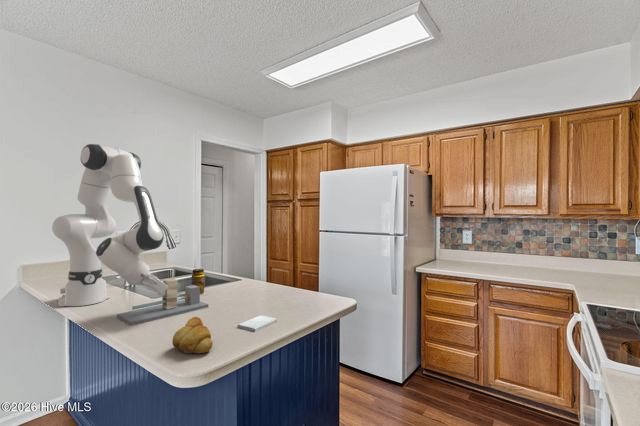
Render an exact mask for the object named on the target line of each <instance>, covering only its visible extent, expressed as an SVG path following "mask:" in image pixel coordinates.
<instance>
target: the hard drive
mask: <svg viewBox="0 0 640 426" xmlns="http://www.w3.org/2000/svg"><path fill="white" fill-rule="evenodd" d="M276 321H277V322H278V318H277V317H273V316H267V315H262V314H261V315H258V316H256V317H253V318H250V319H248V320H246V321H242V322H241V323H239V324H237V325H236V326H237V328H238V329H243V330H247V331H250V332H254V331H256V332H258V331H260V330H262V329H264V328H266V327H268V326H270V325H273V324H274V323H277V322H276ZM267 325H268V326H267ZM265 326H266V327H265ZM263 327H264V328H263ZM261 328H262V329H261ZM259 329H260V330H259ZM257 330H258V331H257Z"/></svg>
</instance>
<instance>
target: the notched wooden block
mask: <svg viewBox="0 0 640 426" xmlns="http://www.w3.org/2000/svg"><path fill="white" fill-rule="evenodd" d="M162 282H163V283H164V284H166V285H167V286H168V289H167V290H166V291H165V292H166V294H165V295H164V296H161V297H162V300H166V303H163V304H161V305H162V307H163V308H165V309H171V308H176V307H177V301H178V300H177V298H178V279H174V278H166V279H162ZM162 300H161V301H162Z"/></svg>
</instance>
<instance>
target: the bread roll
mask: <svg viewBox="0 0 640 426" xmlns="http://www.w3.org/2000/svg"><path fill="white" fill-rule="evenodd" d="M171 343H172V346H173V347H174V348H175V349H177V350H179V351H181V352H182V353H184V354H192V353H194V354H199V355H200V354H203V353H207V352H209V351H211V350H212V348H213V343H214V341H213V340H212V333H211V331H210V329H209V328H208V327H207V326H206V325H204V323H203V321H202V319H201V318H200V317H197V316H194V317H193V316H192V317H191V318H189V319H188V320H187V322H186V323H185V325H184V326H182V327H181V328H179V329H177V331H175V332H174V335H173V337H172V341H171Z"/></svg>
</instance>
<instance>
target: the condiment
mask: <svg viewBox="0 0 640 426" xmlns="http://www.w3.org/2000/svg"><path fill="white" fill-rule="evenodd" d="M204 272H205V270H204V269H203V268H195V269H192V274H191V285H195V286H199V287H200V296H202V295H207V293H206V292H205V277H206V276H205V273H204Z"/></svg>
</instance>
